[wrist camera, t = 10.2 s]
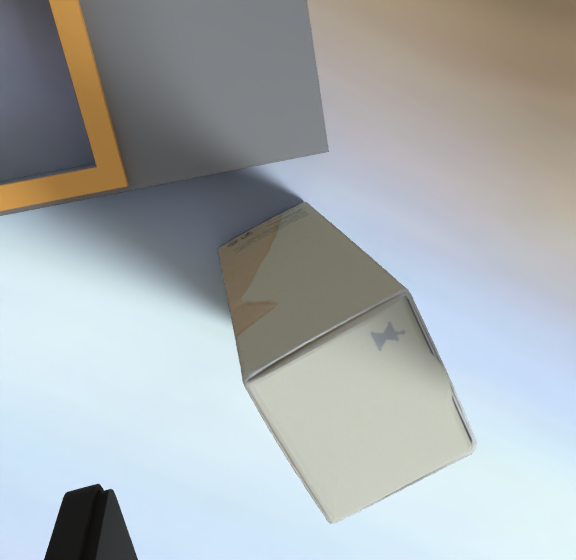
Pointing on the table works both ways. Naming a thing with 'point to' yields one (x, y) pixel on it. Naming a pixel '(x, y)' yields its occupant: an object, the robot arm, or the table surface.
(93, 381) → the table surface
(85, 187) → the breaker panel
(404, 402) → the box
